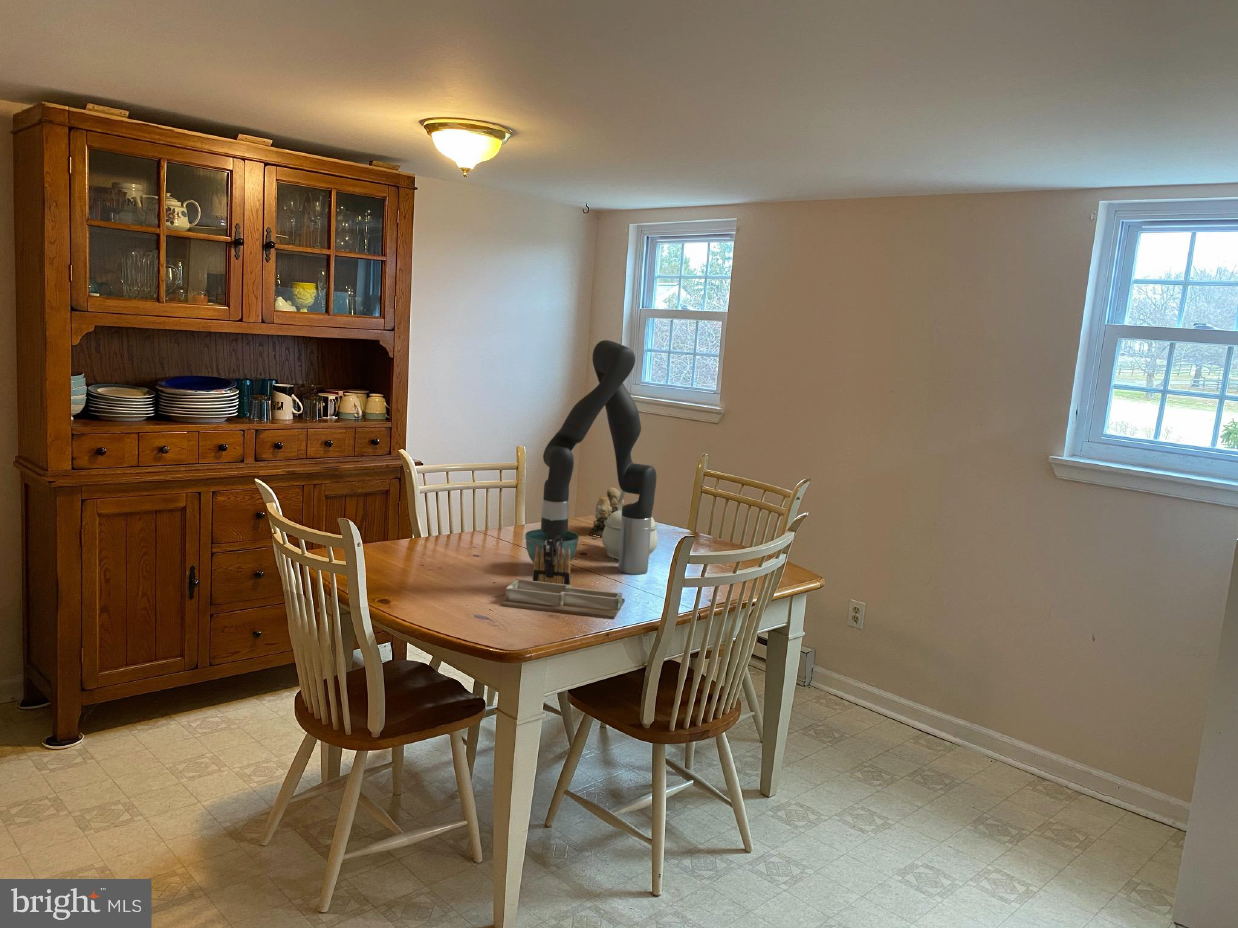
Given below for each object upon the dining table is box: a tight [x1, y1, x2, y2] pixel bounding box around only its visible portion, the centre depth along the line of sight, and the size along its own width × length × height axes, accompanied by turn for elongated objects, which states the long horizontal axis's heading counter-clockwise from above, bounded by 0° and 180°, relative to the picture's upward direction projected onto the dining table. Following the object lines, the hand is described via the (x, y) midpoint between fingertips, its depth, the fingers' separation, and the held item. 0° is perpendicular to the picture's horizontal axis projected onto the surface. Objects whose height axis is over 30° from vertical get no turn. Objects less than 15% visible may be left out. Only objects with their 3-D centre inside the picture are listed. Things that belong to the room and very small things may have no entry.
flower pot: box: [524, 528, 580, 571], centre depth 279 cm, size 16×16×11 cm
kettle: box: [601, 490, 659, 560], centre depth 302 cm, size 25×18×25 cm
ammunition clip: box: [531, 546, 572, 585], centre depth 259 cm, size 11×2×12 cm, turn 84°
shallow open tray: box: [501, 578, 626, 620], centre depth 246 cm, size 16×30×4 cm, turn 80°
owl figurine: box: [588, 487, 625, 537], centre depth 333 cm, size 18×12×17 cm, turn 158°
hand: (551, 574), depth 259 cm, fingers open, 4 cm apart
